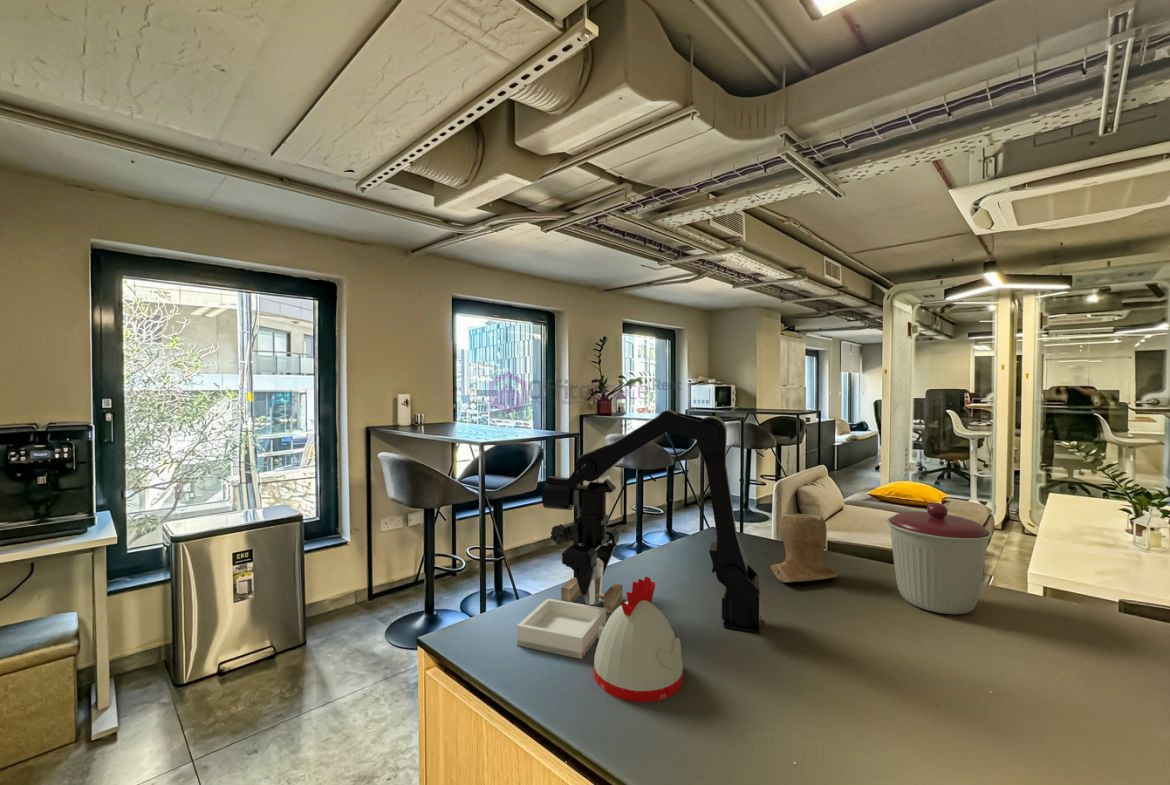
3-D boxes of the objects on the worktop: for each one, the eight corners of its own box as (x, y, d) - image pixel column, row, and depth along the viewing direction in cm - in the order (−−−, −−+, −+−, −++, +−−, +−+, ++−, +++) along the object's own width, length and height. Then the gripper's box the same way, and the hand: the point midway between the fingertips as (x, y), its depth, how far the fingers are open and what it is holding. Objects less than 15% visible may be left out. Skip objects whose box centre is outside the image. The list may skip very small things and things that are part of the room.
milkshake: (576, 606, 105) (577, 558, 105) (586, 596, 110) (586, 550, 110) (597, 610, 104) (597, 560, 103) (606, 599, 109) (606, 552, 108)
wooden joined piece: (623, 599, 109) (623, 583, 109) (613, 613, 102) (613, 595, 102) (574, 591, 113) (574, 575, 113) (561, 604, 106) (561, 587, 106)
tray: (605, 626, 96) (605, 608, 96) (581, 659, 85) (582, 638, 85) (547, 615, 101) (547, 598, 101) (517, 645, 90) (517, 625, 89)
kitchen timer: (698, 672, 81) (699, 578, 81) (651, 715, 71) (652, 607, 71) (627, 643, 90) (627, 559, 90) (576, 677, 80) (576, 582, 80)
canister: (866, 592, 113) (867, 497, 113) (929, 583, 118) (930, 492, 118) (943, 629, 96) (945, 517, 95) (1014, 617, 101) (1016, 511, 100)
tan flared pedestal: (810, 565, 130) (811, 506, 129) (845, 583, 118) (846, 518, 118) (757, 570, 126) (758, 510, 126) (788, 589, 114) (788, 522, 114)
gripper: (573, 499, 118) (573, 566, 119) (537, 518, 101) (537, 597, 101) (619, 503, 114) (619, 572, 115) (590, 524, 97) (590, 606, 97)
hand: (592, 586), depth 107 cm, fingers open, 9 cm apart
